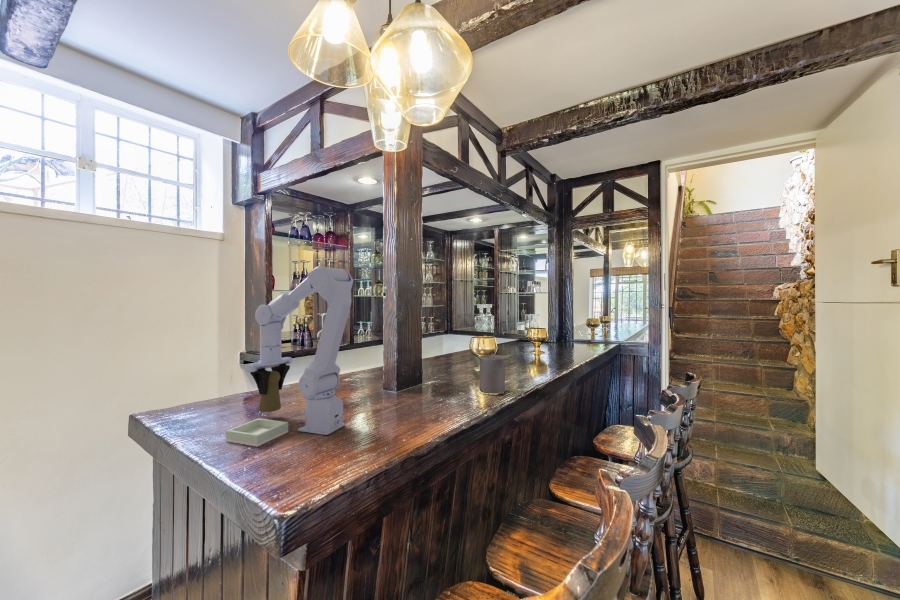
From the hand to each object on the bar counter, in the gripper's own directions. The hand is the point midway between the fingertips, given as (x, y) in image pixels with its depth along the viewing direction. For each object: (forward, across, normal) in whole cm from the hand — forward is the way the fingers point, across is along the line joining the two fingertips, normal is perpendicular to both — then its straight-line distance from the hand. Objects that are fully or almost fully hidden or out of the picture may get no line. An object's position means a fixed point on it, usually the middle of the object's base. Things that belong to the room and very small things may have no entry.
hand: (270, 391), depth 105 cm
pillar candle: (+8, -51, +56) cm, 76 cm away
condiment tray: (+8, +12, +8) cm, 16 cm away
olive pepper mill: (+5, 0, 0) cm, 5 cm away
